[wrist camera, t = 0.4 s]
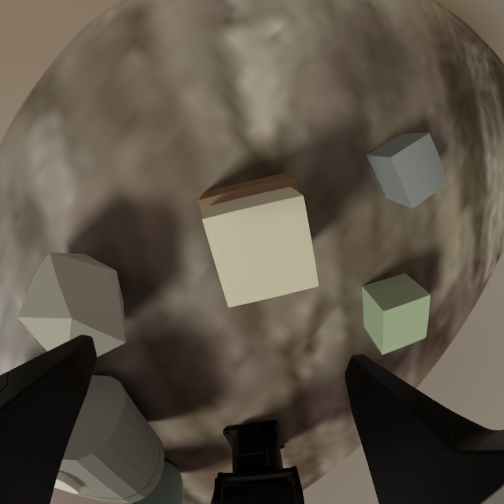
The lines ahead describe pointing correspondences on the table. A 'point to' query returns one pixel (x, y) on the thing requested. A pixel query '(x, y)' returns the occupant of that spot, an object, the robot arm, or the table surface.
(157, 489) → the cup
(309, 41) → the table surface
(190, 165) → the table surface
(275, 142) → the table surface
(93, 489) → the alarm clock
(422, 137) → the slate cube
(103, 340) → the die
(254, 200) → the tower top
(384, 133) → the table surface
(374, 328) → the sage cube
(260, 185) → the tower base
